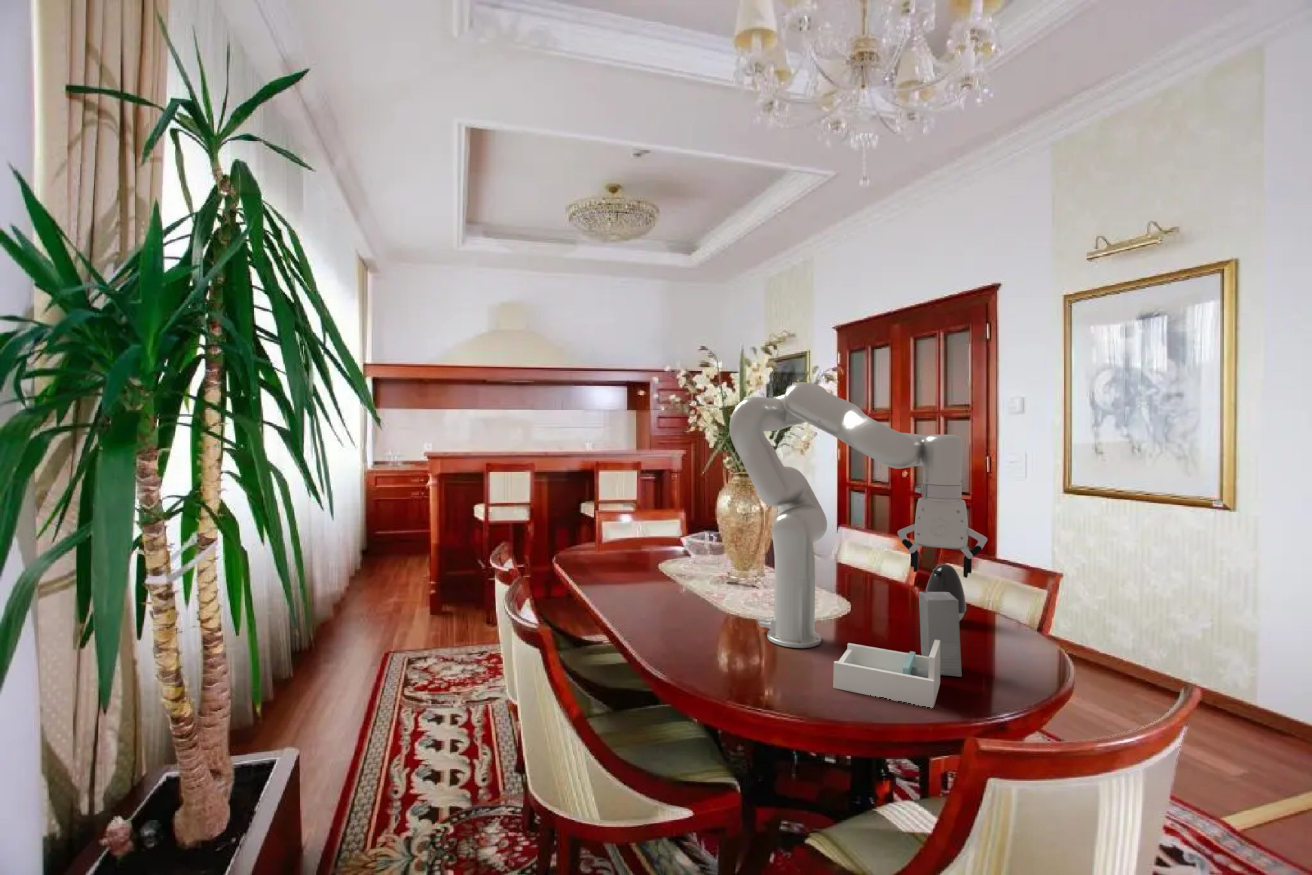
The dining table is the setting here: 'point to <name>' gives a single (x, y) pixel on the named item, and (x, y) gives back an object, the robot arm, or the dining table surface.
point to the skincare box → (941, 629)
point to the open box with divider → (888, 674)
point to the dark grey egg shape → (948, 585)
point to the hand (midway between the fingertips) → (940, 573)
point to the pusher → (913, 667)
